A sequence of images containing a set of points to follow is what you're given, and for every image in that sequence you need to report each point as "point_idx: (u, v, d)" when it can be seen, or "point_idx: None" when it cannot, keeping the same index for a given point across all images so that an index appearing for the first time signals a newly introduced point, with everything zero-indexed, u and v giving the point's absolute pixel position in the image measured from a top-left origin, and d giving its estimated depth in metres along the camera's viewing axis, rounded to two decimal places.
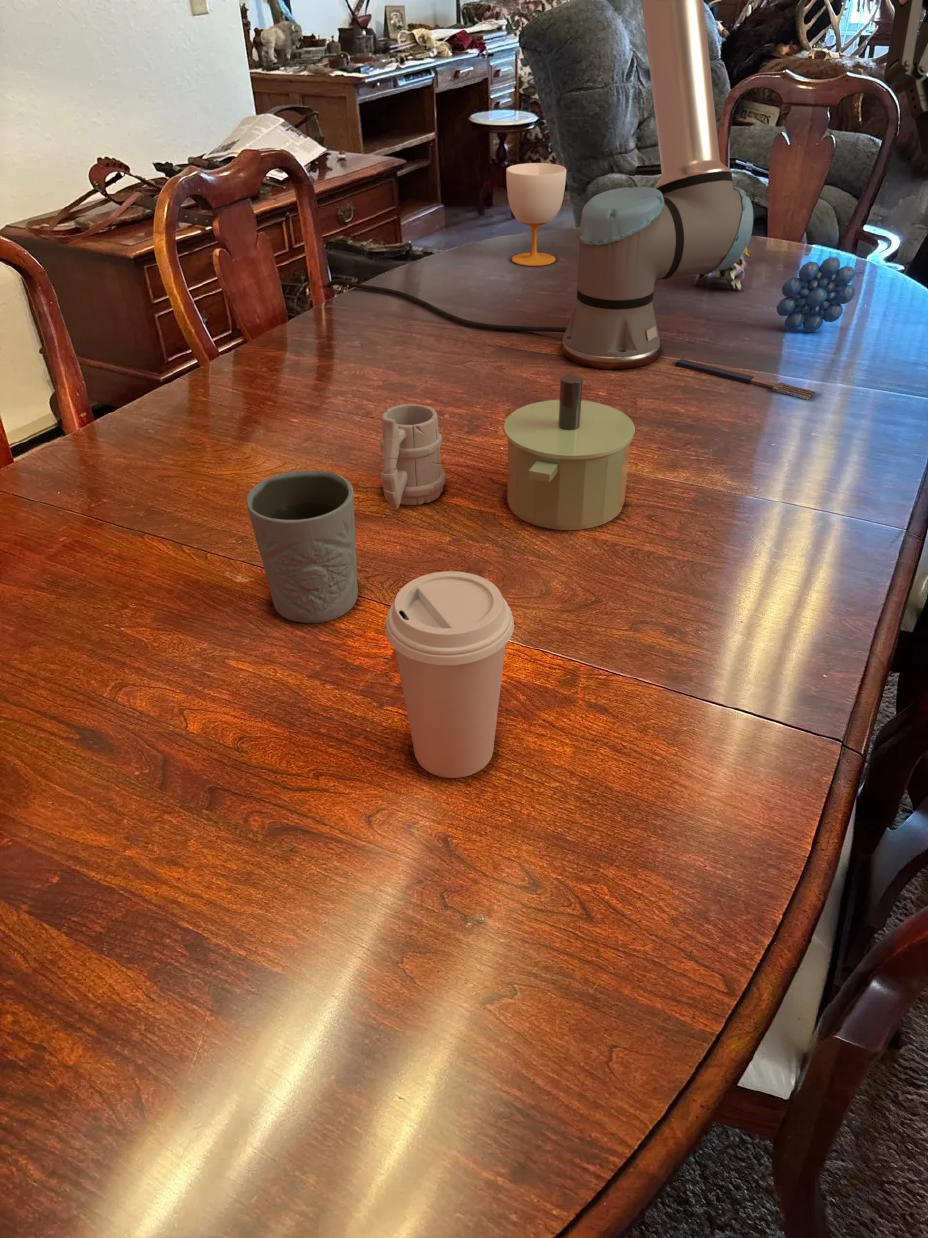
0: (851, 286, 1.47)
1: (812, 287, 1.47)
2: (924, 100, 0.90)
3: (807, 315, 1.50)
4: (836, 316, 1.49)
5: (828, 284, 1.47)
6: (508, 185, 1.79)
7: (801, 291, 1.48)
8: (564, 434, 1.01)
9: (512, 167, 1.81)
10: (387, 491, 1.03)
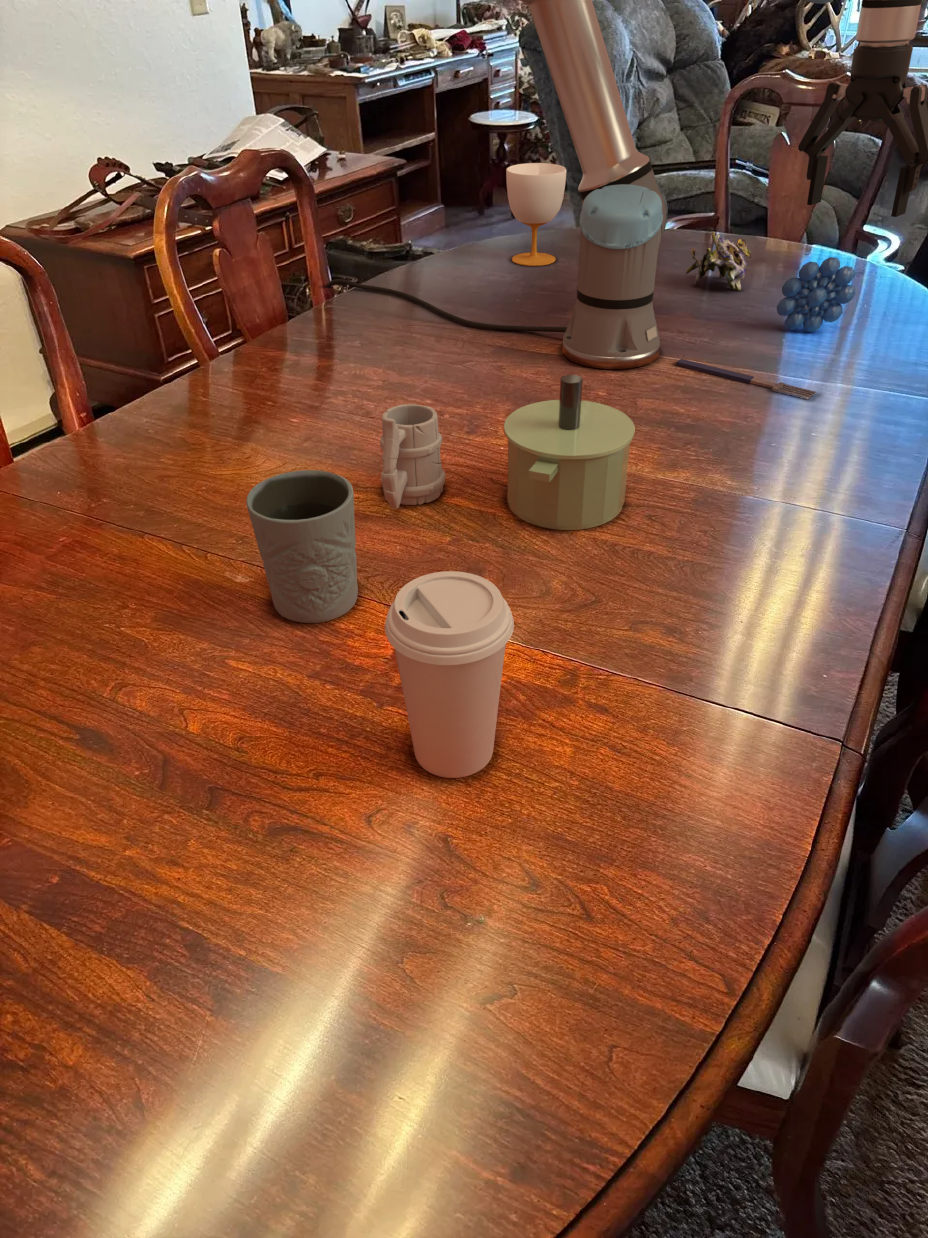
0: (851, 286, 1.47)
1: (812, 287, 1.47)
2: None
3: (807, 315, 1.50)
4: (836, 316, 1.49)
5: (828, 284, 1.47)
6: (508, 185, 1.79)
7: (801, 291, 1.48)
8: (564, 434, 1.01)
9: (512, 167, 1.81)
10: (387, 491, 1.03)
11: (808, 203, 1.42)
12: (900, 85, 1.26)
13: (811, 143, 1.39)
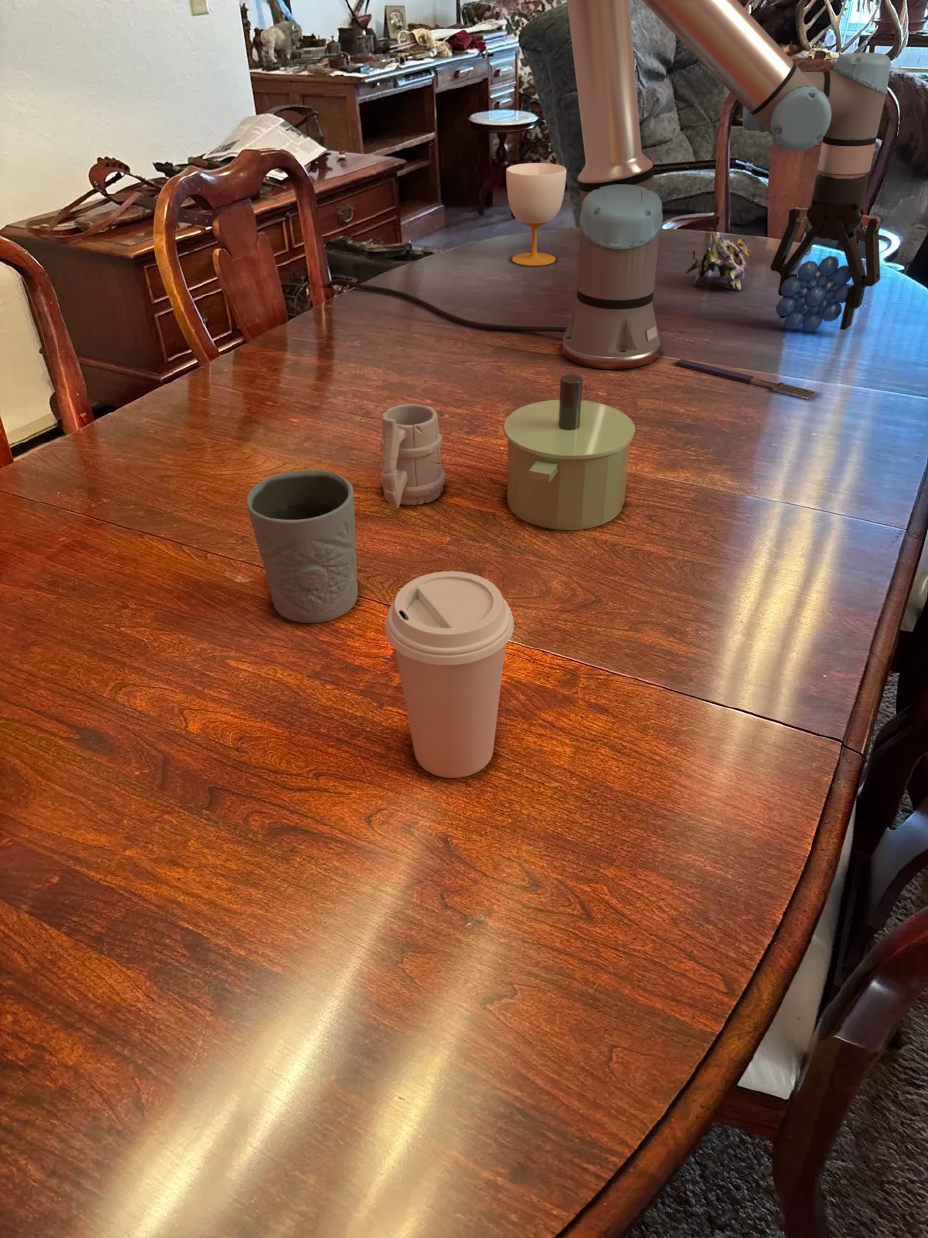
0: (850, 285, 1.47)
1: (811, 286, 1.47)
2: None
3: (806, 314, 1.50)
4: (835, 315, 1.49)
5: (827, 283, 1.47)
6: (508, 185, 1.79)
7: (800, 290, 1.48)
8: (564, 434, 1.01)
9: (512, 167, 1.81)
10: (387, 491, 1.03)
11: (780, 316, 1.54)
12: (859, 211, 1.39)
13: (781, 262, 1.51)
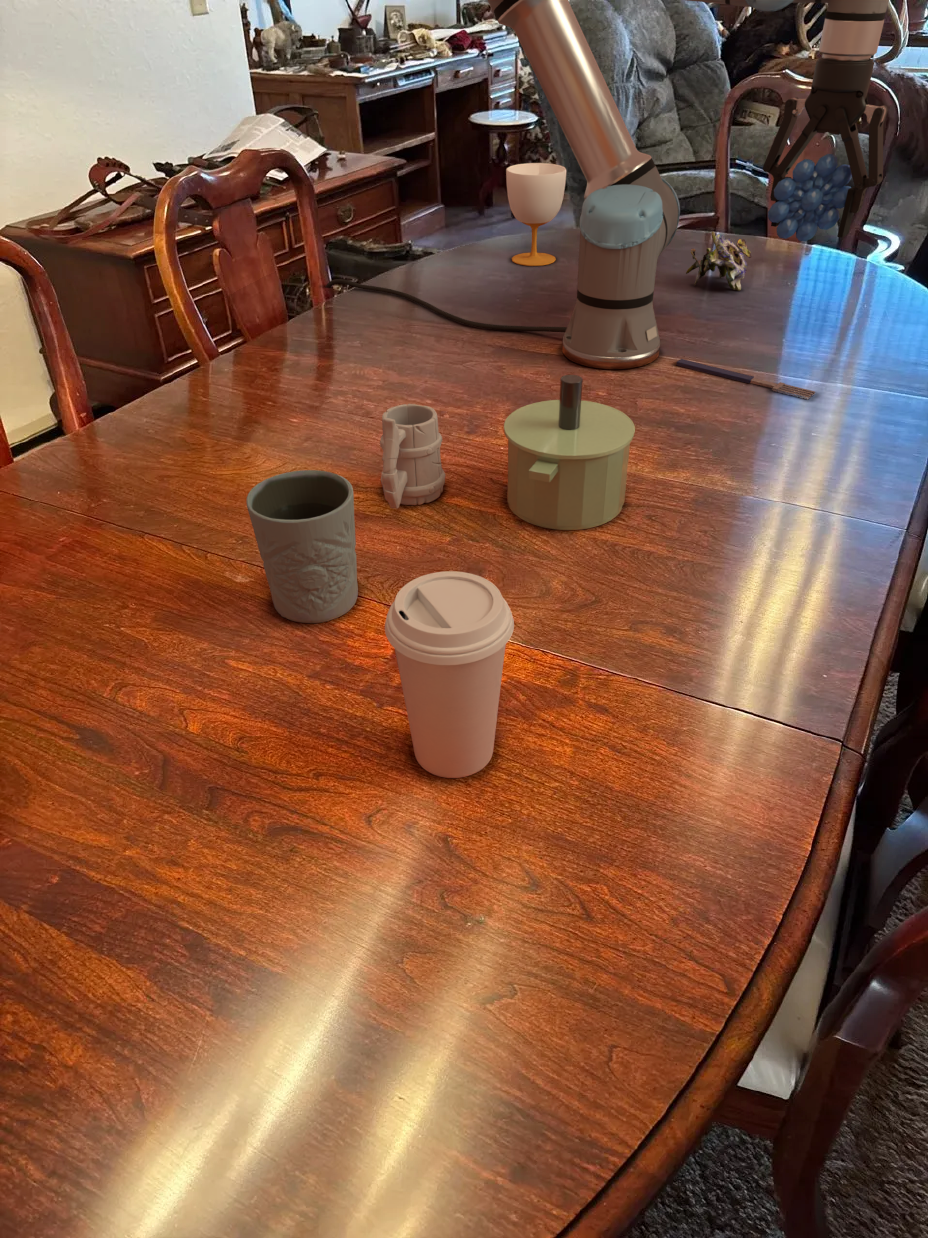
0: (849, 187, 1.34)
1: (807, 188, 1.34)
2: None
3: (801, 221, 1.37)
4: (833, 222, 1.36)
5: (824, 185, 1.34)
6: (508, 185, 1.79)
7: (795, 193, 1.35)
8: (564, 434, 1.01)
9: (512, 167, 1.81)
10: (387, 491, 1.03)
11: (772, 224, 1.40)
12: (863, 100, 1.26)
13: (775, 163, 1.37)
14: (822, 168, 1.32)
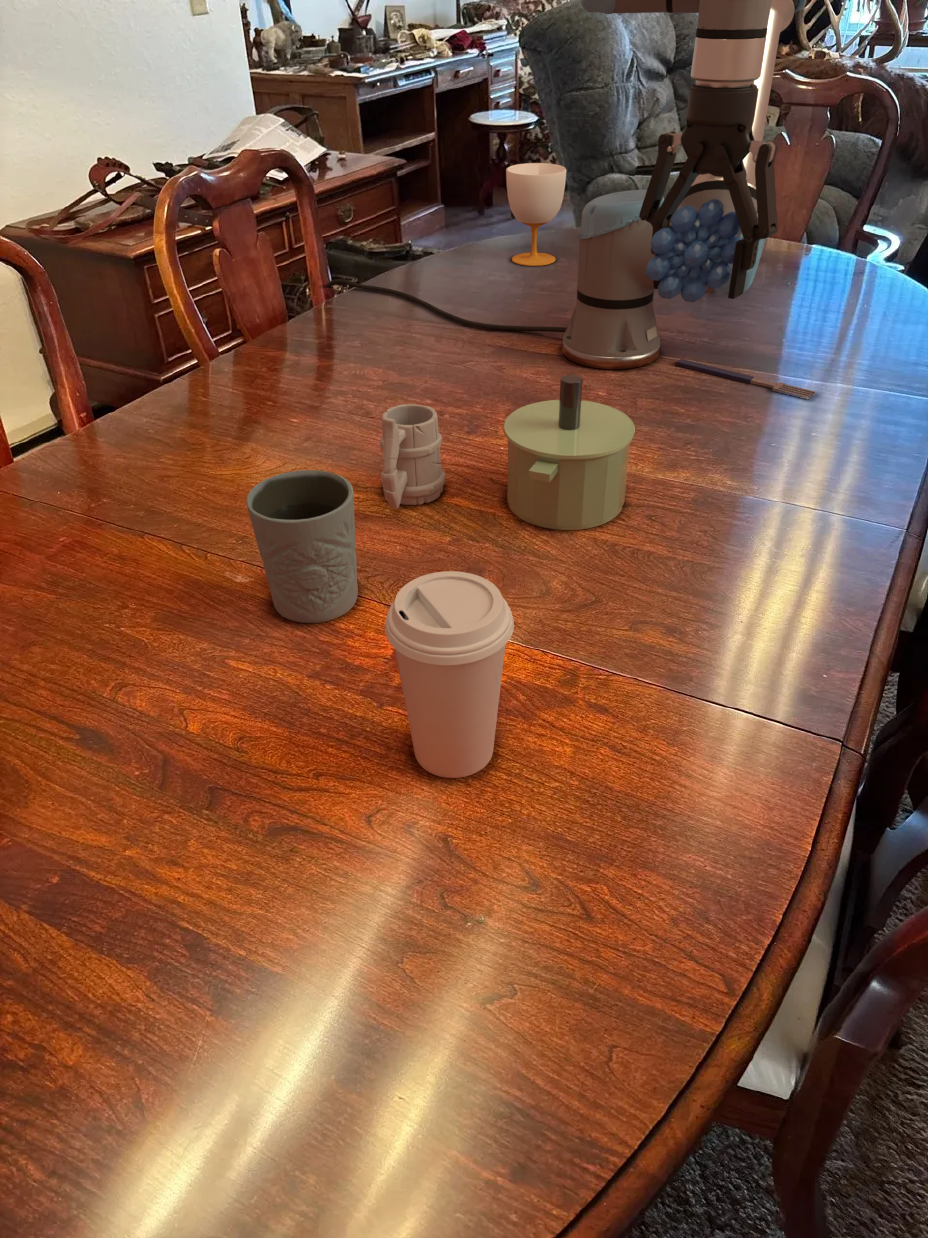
0: (740, 239, 1.10)
1: (689, 240, 1.10)
2: None
3: (685, 279, 1.13)
4: (723, 280, 1.12)
5: (710, 236, 1.10)
6: (508, 185, 1.79)
7: (675, 246, 1.11)
8: (564, 434, 1.01)
9: (512, 167, 1.81)
10: (387, 491, 1.03)
11: (655, 282, 1.17)
12: (747, 135, 1.02)
13: (654, 209, 1.14)
14: (705, 216, 1.09)
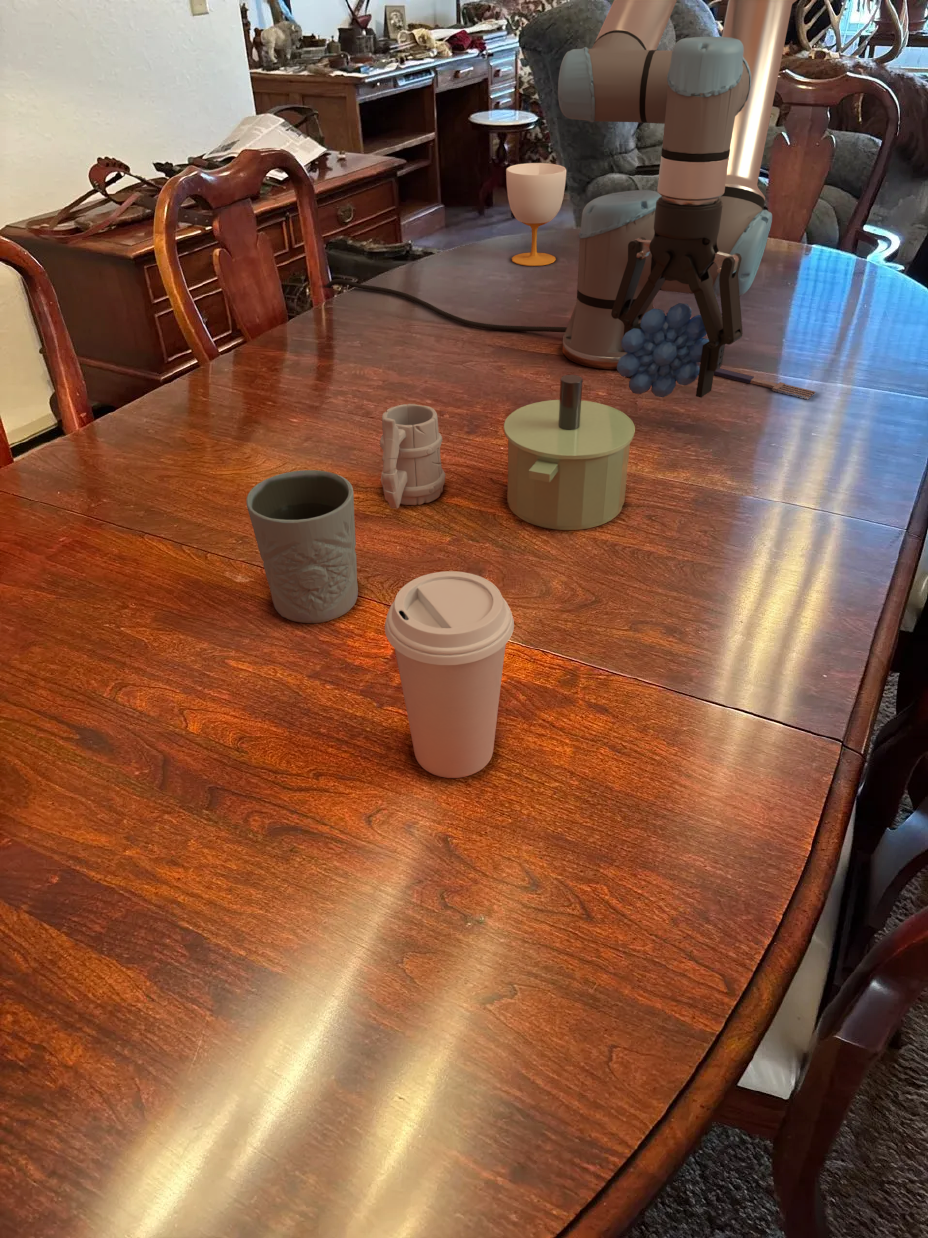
0: (707, 340, 1.14)
1: (658, 341, 1.14)
2: None
3: (655, 376, 1.17)
4: (691, 378, 1.16)
5: (678, 337, 1.14)
6: (508, 185, 1.79)
7: (645, 346, 1.15)
8: (564, 434, 1.01)
9: (512, 167, 1.81)
10: (387, 491, 1.03)
11: None
12: (711, 247, 1.06)
13: (625, 308, 1.17)
14: (673, 320, 1.12)
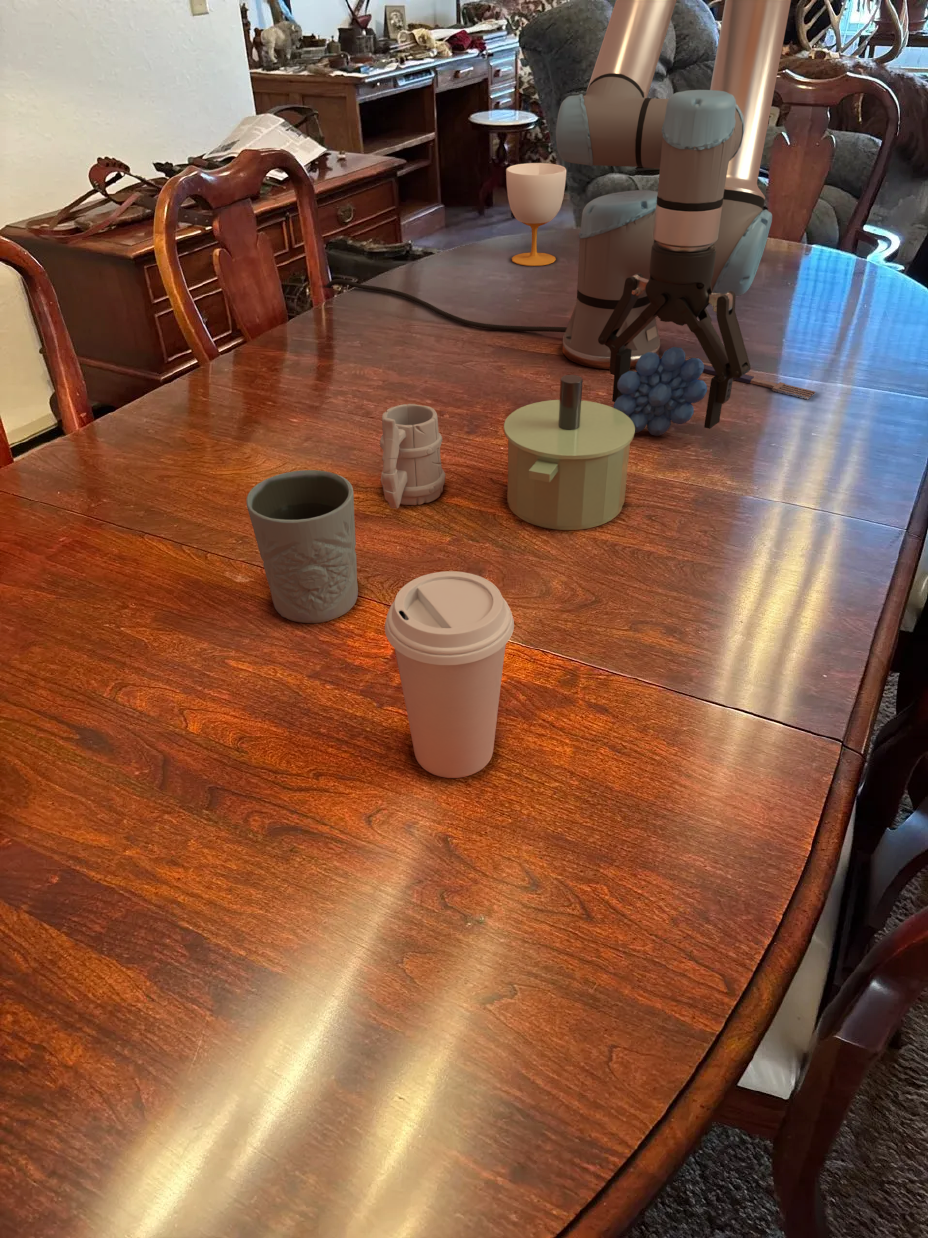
0: (701, 382, 1.17)
1: (653, 384, 1.17)
2: None
3: (650, 416, 1.20)
4: (685, 418, 1.19)
5: (672, 380, 1.17)
6: (508, 185, 1.79)
7: (640, 388, 1.18)
8: (564, 434, 1.01)
9: (512, 167, 1.81)
10: (387, 491, 1.03)
11: (613, 400, 1.24)
12: (705, 291, 1.09)
13: (612, 336, 1.21)
14: (667, 364, 1.15)
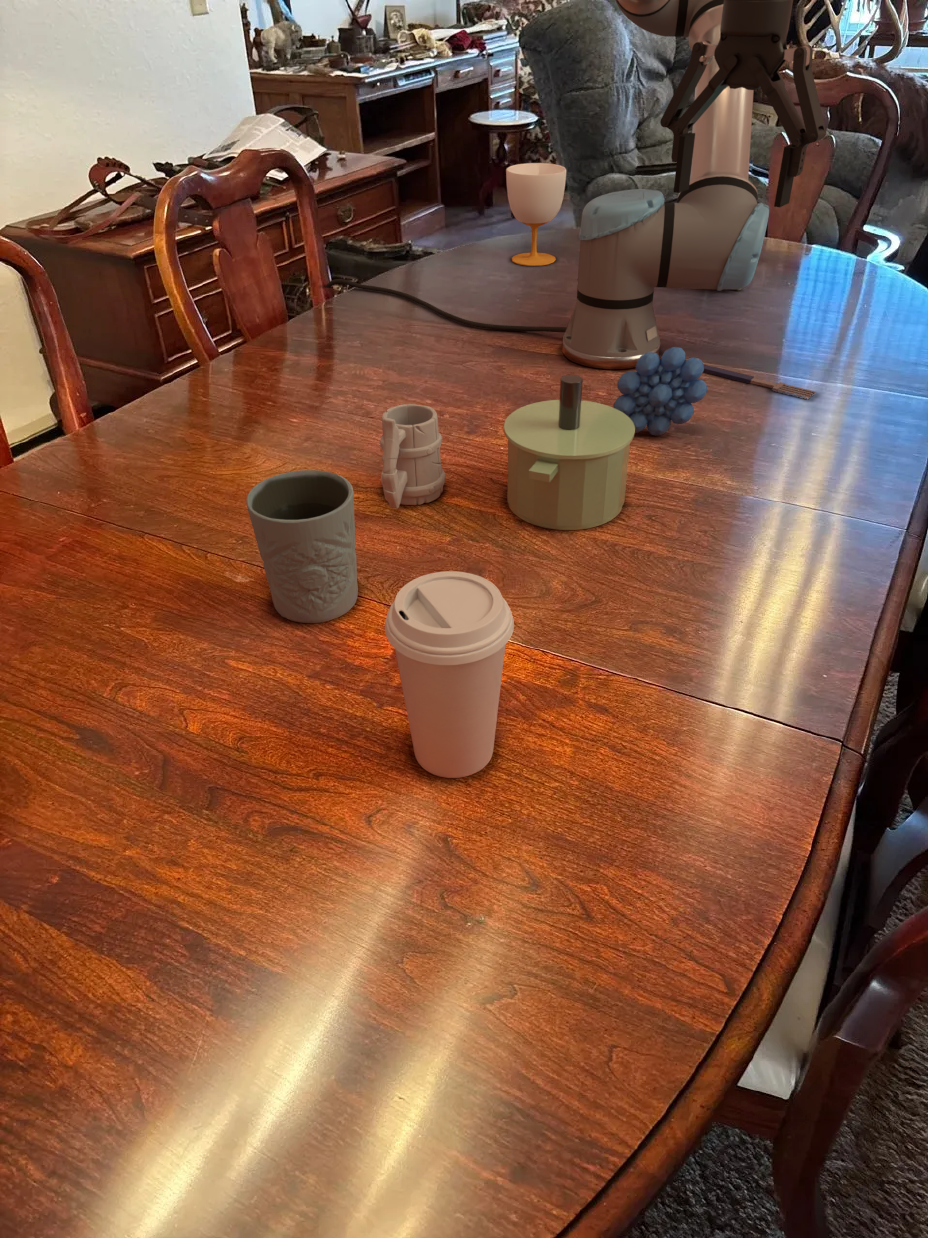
0: (701, 382, 1.17)
1: (653, 384, 1.17)
2: None
3: (650, 416, 1.20)
4: (685, 418, 1.19)
5: (672, 380, 1.17)
6: (508, 185, 1.79)
7: (640, 388, 1.18)
8: (564, 434, 1.01)
9: (512, 167, 1.81)
10: (387, 491, 1.03)
11: (675, 190, 1.18)
12: (780, 45, 1.03)
13: (675, 117, 1.15)
14: (667, 364, 1.15)
